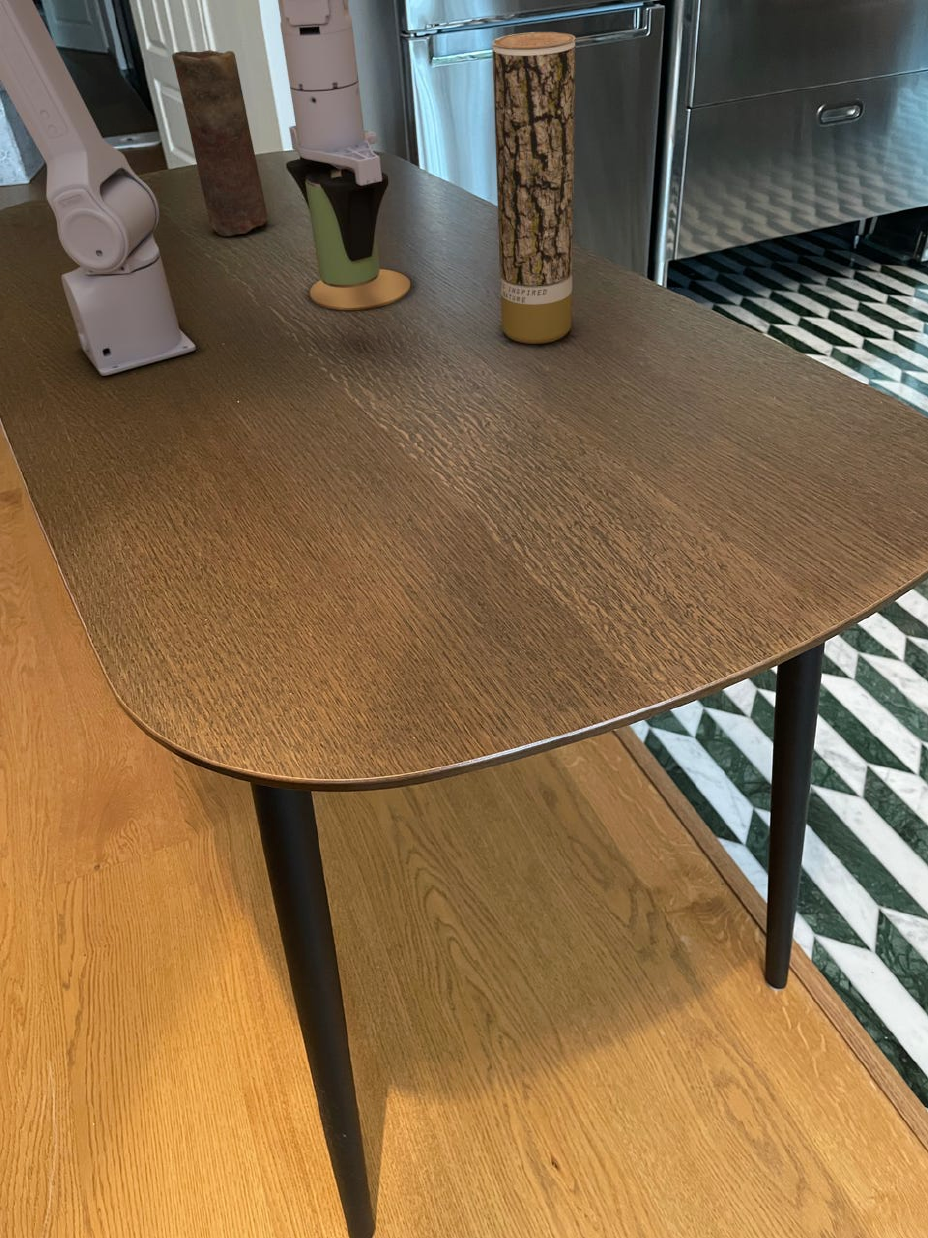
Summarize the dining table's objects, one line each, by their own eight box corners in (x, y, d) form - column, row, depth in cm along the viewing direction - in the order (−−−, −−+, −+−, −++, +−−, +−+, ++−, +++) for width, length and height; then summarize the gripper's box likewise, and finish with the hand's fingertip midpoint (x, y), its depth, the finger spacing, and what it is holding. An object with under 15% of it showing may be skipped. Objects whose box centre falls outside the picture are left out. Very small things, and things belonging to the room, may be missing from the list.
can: (336, 292, 88) (320, 189, 82) (310, 274, 92) (294, 174, 86) (390, 278, 90) (379, 175, 84) (363, 260, 94) (351, 161, 88)
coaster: (336, 319, 100) (335, 316, 100) (294, 287, 108) (293, 284, 107) (428, 292, 104) (428, 290, 104) (382, 263, 112) (381, 261, 111)
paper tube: (566, 348, 92) (570, 47, 76) (496, 345, 93) (485, 49, 77) (575, 318, 97) (580, 30, 81) (508, 316, 98) (499, 32, 82)
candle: (205, 224, 126) (165, 49, 113) (259, 213, 128) (226, 40, 115) (219, 241, 121) (179, 59, 108) (276, 230, 123) (243, 49, 110)
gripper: (407, 89, 77) (421, 260, 86) (331, 62, 87) (351, 218, 95) (326, 105, 74) (350, 279, 83) (258, 75, 84) (285, 234, 93)
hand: (346, 248), depth 89 cm, fingers closed on can, 5 cm apart
